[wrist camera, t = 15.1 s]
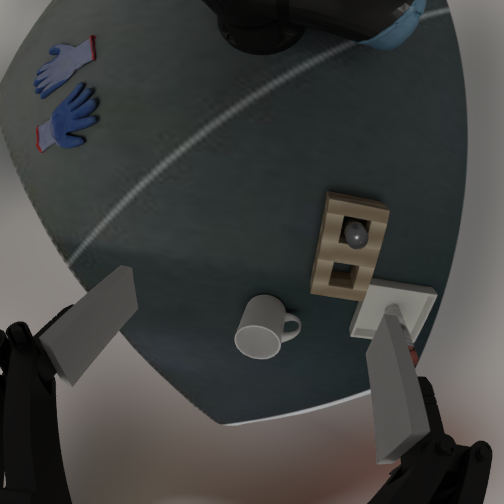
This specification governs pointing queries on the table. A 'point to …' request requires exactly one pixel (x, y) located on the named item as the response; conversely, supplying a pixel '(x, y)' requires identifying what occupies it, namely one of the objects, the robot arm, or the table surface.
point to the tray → (391, 292)
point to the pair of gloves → (67, 112)
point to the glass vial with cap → (403, 329)
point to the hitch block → (347, 247)
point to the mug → (264, 327)
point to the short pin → (355, 232)
